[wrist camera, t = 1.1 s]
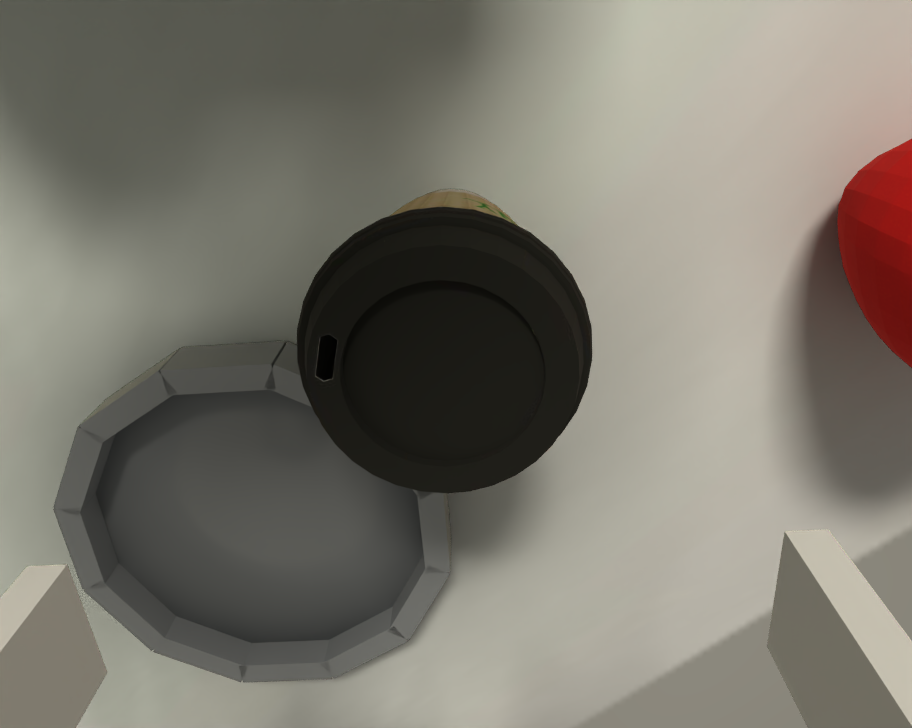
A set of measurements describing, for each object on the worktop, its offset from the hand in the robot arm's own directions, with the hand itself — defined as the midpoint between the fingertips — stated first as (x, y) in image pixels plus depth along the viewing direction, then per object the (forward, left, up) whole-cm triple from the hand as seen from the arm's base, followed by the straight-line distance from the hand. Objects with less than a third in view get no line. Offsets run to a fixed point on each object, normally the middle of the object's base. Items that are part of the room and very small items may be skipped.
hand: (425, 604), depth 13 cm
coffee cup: (0, 0, -25) cm, 25 cm away
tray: (+15, -12, -25) cm, 31 cm away
